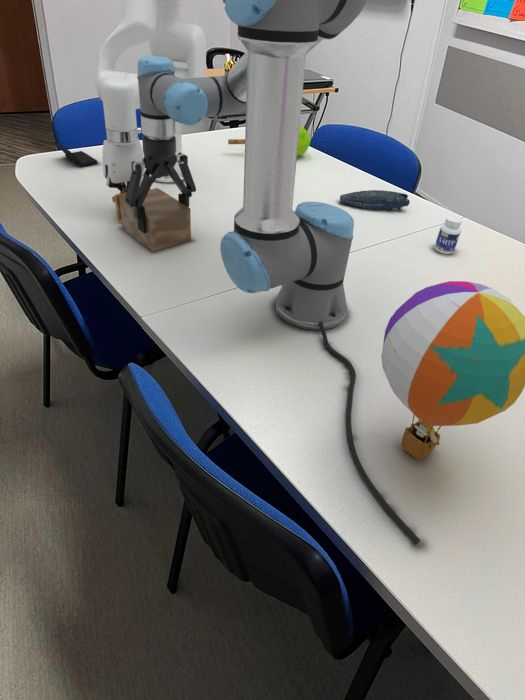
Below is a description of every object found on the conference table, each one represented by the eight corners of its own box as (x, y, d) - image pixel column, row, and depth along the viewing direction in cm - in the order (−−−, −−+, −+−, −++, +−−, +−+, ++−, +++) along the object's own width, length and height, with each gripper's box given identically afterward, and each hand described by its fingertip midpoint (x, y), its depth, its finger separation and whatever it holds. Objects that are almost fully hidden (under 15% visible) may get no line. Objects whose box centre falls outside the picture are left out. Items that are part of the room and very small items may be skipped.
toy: (330, 441, 84) (367, 281, 65) (404, 391, 94) (454, 241, 75) (431, 526, 73) (512, 363, 54) (502, 459, 83) (589, 303, 64)
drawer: (107, 211, 141) (104, 187, 137) (139, 204, 147) (138, 180, 142) (143, 239, 130) (142, 214, 126) (177, 229, 136) (176, 205, 132)
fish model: (408, 214, 157) (412, 198, 153) (339, 207, 158) (341, 191, 154) (406, 206, 162) (410, 190, 159) (339, 199, 163) (341, 183, 160)
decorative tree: (225, 119, 187) (305, 119, 192) (225, 149, 194) (302, 148, 199) (232, 134, 173) (318, 133, 179) (232, 165, 180) (315, 164, 185)
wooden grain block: (122, 228, 136) (119, 196, 131) (159, 219, 142) (157, 187, 137) (153, 252, 128) (150, 218, 122) (190, 240, 134) (190, 208, 128)
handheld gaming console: (102, 156, 171) (80, 134, 163) (90, 174, 170) (68, 153, 161) (81, 152, 177) (60, 131, 169) (70, 169, 176) (48, 148, 168)
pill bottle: (433, 251, 139) (442, 220, 133) (435, 243, 143) (444, 213, 137) (453, 256, 138) (464, 225, 132) (454, 247, 142) (465, 217, 136)
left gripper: (140, 127, 136) (144, 195, 147) (86, 134, 127) (95, 206, 138) (156, 135, 131) (159, 204, 143) (101, 143, 123) (109, 216, 134)
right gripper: (192, 123, 125) (193, 209, 139) (102, 137, 112) (113, 230, 126) (211, 132, 121) (210, 220, 135) (119, 148, 108) (128, 243, 122)
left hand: (128, 205), depth 141 cm, fingers closed
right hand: (163, 225), depth 130 cm, fingers closed on wooden grain block, 11 cm apart
